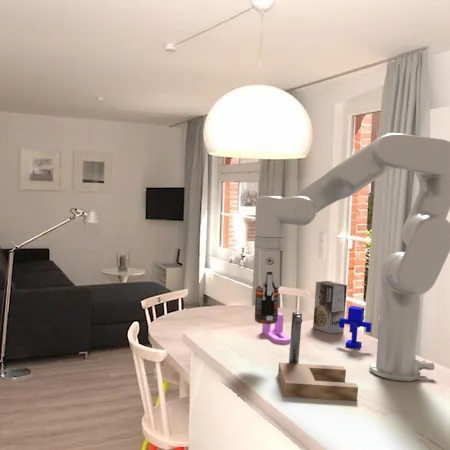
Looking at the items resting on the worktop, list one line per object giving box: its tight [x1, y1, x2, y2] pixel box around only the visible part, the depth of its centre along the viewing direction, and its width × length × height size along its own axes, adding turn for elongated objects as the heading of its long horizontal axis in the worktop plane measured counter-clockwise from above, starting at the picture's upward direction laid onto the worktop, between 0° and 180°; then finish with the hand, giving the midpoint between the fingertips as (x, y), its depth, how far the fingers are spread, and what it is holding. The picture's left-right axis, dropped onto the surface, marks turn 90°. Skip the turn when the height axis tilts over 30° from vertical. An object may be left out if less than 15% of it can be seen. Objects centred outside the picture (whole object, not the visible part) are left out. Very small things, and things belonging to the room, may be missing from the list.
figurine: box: [339, 305, 372, 350], centre depth 156 cm, size 8×8×12 cm
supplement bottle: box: [254, 278, 279, 325], centre depth 134 cm, size 6×6×11 cm
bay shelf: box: [277, 361, 359, 402], centre depth 120 cm, size 16×14×3 cm
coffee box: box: [312, 280, 348, 334], centre depth 175 cm, size 9×6×16 cm
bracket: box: [261, 312, 291, 345], centre depth 160 cm, size 13×6×7 cm, turn 14°
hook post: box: [288, 311, 303, 364], centre depth 128 cm, size 4×6×15 cm, turn 0°
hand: (266, 311), depth 134 cm, fingers closed on supplement bottle, 6 cm apart
